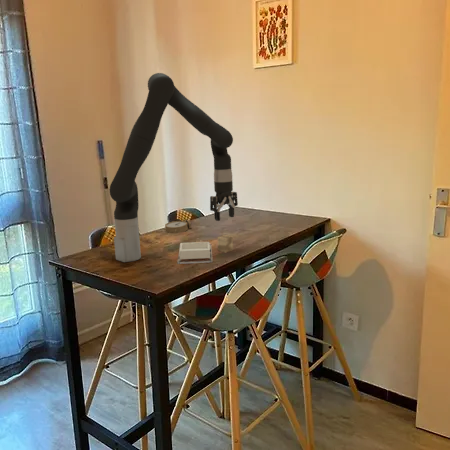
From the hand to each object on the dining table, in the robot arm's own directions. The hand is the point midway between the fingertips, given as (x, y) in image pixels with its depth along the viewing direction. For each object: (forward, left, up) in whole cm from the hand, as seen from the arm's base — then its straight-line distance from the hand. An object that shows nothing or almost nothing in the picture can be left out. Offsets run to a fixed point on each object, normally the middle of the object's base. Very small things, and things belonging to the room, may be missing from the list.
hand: (224, 218), depth 195 cm
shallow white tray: (-14, +4, -14) cm, 20 cm away
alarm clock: (+13, +44, -14) cm, 48 cm away
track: (-11, +7, -14) cm, 19 cm away
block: (0, 0, -14) cm, 14 cm away
